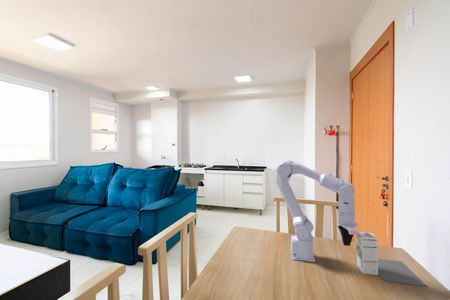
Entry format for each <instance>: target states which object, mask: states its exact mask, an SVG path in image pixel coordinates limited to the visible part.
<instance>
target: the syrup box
mask: <svg viewBox="0 0 450 300" xmlns="http://www.w3.org/2000/svg"><path fill="white" fill-rule="evenodd" d="M355 236H356V237H355V242H356V243H355V244H356V248H355V249H356V267H357V268H358V269H359V271H360V272H361V274H366V275H374V276H378V275H379V273H378V259H379V251H378V249H379V248H378V247H379V246H378V241H379V240H378V238H377V237H376V236H375V235H374V234H373V233H372V232H371V231H356V233H355Z"/></svg>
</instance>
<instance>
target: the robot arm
mask: <svg viewBox="0 0 450 300" xmlns="http://www.w3.org/2000/svg"><path fill="white" fill-rule="evenodd" d="M299 174H300V175H302V176H305V177H308V178H310V179H312V180H314V181H317V182H318V183H319V185H320V186H321V187H322V188H325V189H327V190H329V191H332V192H334V193H337V194H338V206H337V207H338V211H337V212H338V221H337V224H338V225H337V228H338V230H339V232H340V235H341V236H340V237H341V240H342V244H343V245H344V247H345V246H347V247H350V246H351V244H352V240H353V237H354V236H356V232H357V231H356V227H358V226H359V223H358V222H355V221H356V219H355V213H356V211H355V206H356V205H355V195H356V192H355V187H354V185H353V184H352V183H351V182H349V181H348V180H347V181H346V180H345V179H343V178H341V179H340V178H338V177H336V176H333V174H332V173H329V174H328V173H327V172H326V173H323V174H322V173H319V172H317V171H315V170H314V169H311V168H310V167H308V166H305V165H303V164H301V163H299V162H294V161H293V160H286V161H281V162H280V163H279V164H278V166H277V168H276V185H277V187H278V190H279V191H280V194H281V195H282V198H283V200H284V202H285V205H286V206H287V208H288V209H287V210H288V212H289V213H290V215H291V217H292V223H293V224H292V225H293V227H294V234H295V235H291V237H290V239H291V240H290V241H291V242H290V243H291V244H290V246H291V247H290V253H291V260H294V261H295V260H296V261H304V262H311V263H316V258H315V255H314V236H313V234H312V232H313V230H314V225H313V223H312V221H310V219H308V216H307V215H306V214H304V212H303V210H302V208H301V206H300V204H299V202H298V199H297V198H296V195H295V193H294V191H293V189H292V186H291V185H290V182H289V181H290V179H291V177H292V175H299Z"/></svg>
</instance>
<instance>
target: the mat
mask: <svg viewBox="0 0 450 300" xmlns="http://www.w3.org/2000/svg"><path fill="white" fill-rule="evenodd" d="M378 275H379V276H380V277H381V279H382V280H383V281H384V282H390V283H398V284H405V285H412V286H413V285H414V286H419V287H428V285H427V283H425V282H424V281H423V280H422V279H421V278H420V277H419V276H418V275H416V273H415V272H414V271H412V269H410V268H409V266H407V265H406V264H405V263H404V262H403V261H402V260H395V259H394V260H392V259H386V258H385V259H383V258H378Z"/></svg>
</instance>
